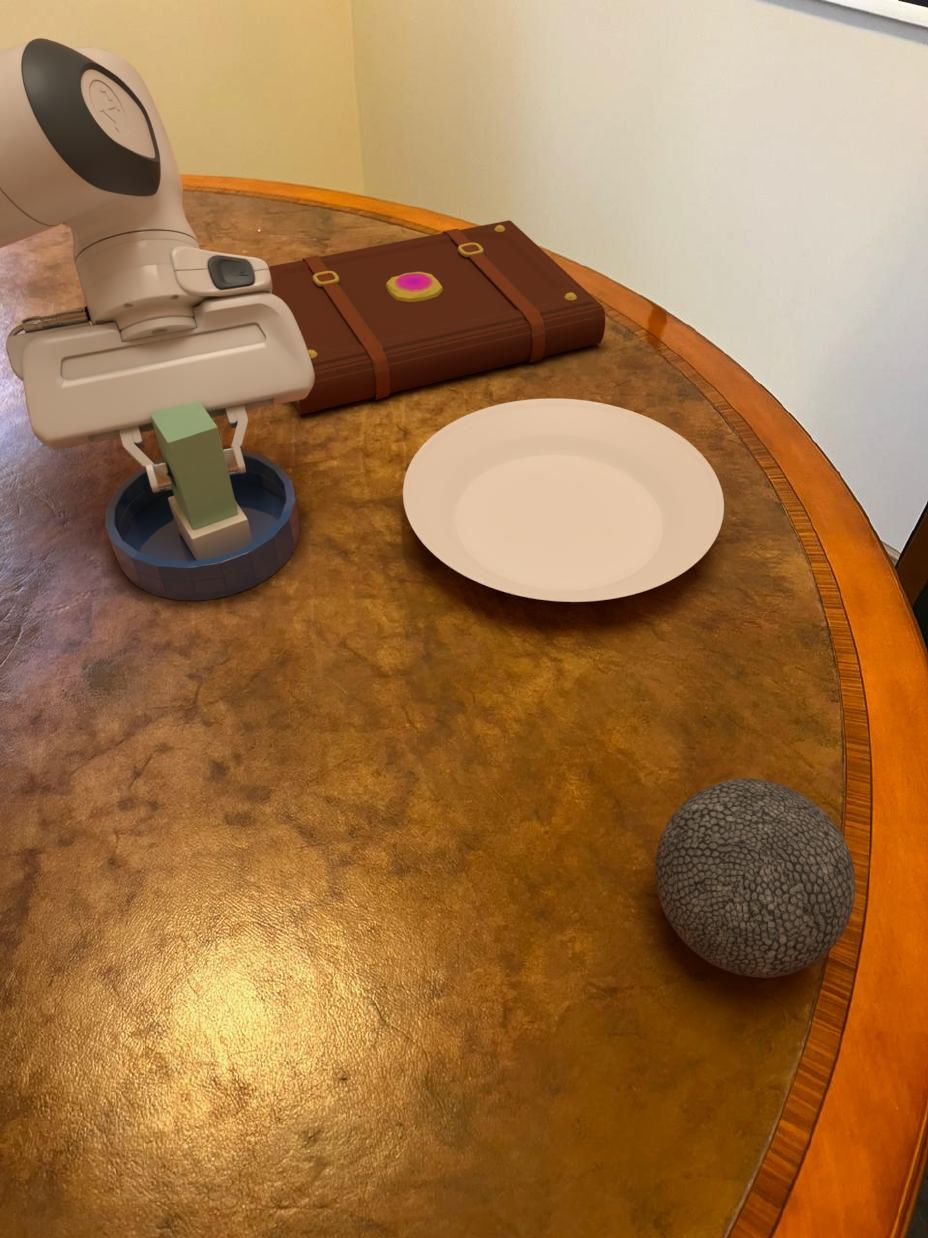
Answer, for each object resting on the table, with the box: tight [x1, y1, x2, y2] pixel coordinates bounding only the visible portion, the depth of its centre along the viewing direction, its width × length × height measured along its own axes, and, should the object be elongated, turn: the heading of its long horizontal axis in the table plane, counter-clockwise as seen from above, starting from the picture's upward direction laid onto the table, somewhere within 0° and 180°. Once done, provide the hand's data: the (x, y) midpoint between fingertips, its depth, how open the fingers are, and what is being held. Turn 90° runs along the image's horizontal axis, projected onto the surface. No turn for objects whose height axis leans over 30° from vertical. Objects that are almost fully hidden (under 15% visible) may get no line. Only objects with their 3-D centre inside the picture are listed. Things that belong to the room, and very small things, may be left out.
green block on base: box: [150, 402, 253, 560], centre depth 69 cm, size 4×6×11 cm
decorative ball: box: [654, 777, 856, 979], centre depth 49 cm, size 10×10×10 cm
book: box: [268, 219, 606, 415], centre depth 95 cm, size 23×32×5 cm
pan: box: [104, 447, 301, 602], centre depth 73 cm, size 14×14×4 cm
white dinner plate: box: [402, 398, 725, 603], centre depth 74 cm, size 25×25×4 cm
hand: (200, 481), depth 68 cm, fingers closed on green block on base, 4 cm apart
